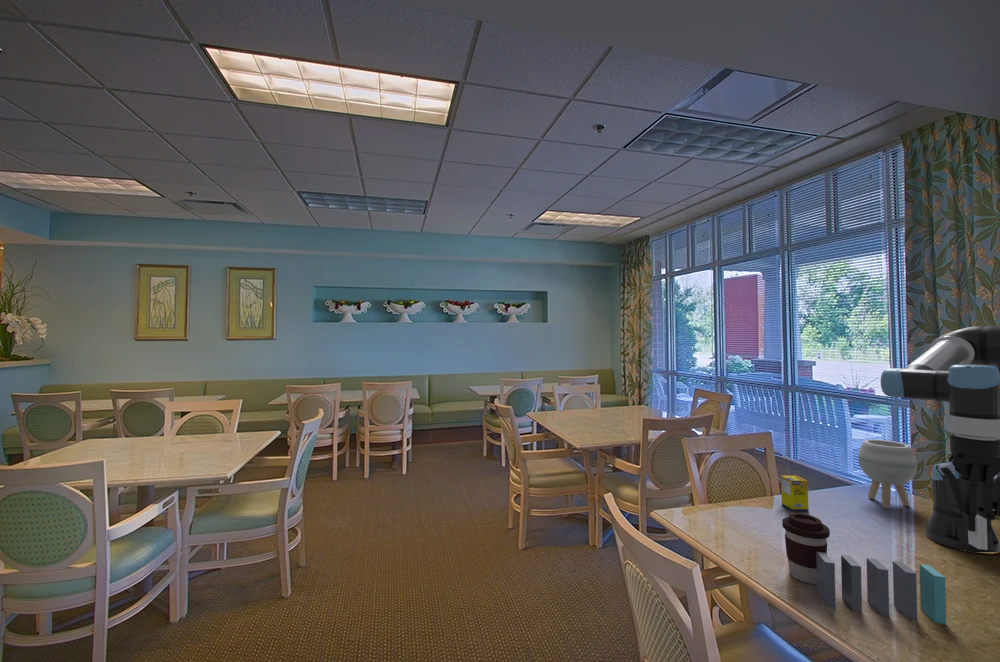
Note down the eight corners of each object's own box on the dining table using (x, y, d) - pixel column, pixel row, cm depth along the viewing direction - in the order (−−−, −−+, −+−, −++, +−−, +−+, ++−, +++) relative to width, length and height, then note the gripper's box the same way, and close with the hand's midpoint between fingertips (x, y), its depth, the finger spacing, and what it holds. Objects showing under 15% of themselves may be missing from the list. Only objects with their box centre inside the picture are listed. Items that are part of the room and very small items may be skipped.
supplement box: (809, 511, 152) (808, 480, 152) (792, 511, 152) (791, 480, 152) (797, 505, 157) (797, 475, 158) (781, 505, 158) (780, 475, 158)
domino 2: (851, 598, 101) (850, 555, 101) (862, 611, 96) (861, 566, 96) (841, 597, 101) (841, 554, 101) (852, 610, 96) (851, 565, 97)
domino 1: (825, 595, 102) (825, 552, 102) (835, 607, 97) (834, 563, 98) (817, 593, 103) (816, 551, 103) (826, 606, 98) (825, 562, 98)
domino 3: (876, 602, 99) (875, 558, 99) (889, 615, 94) (888, 569, 95) (867, 601, 100) (866, 557, 100) (879, 614, 95) (878, 568, 95)
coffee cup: (833, 592, 103) (831, 530, 103) (783, 580, 108) (782, 520, 109) (828, 573, 111) (827, 515, 112) (782, 563, 117) (781, 507, 117)
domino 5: (930, 610, 96) (929, 565, 96) (946, 624, 91) (945, 577, 92) (920, 608, 97) (919, 564, 97) (935, 622, 92) (934, 575, 92)
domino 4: (903, 606, 98) (902, 562, 98) (917, 620, 93) (916, 573, 93) (893, 604, 98) (892, 560, 98) (907, 618, 93) (906, 572, 94)
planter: (885, 513, 150) (884, 449, 150) (848, 496, 166) (846, 438, 166) (931, 512, 150) (929, 448, 150) (889, 496, 166) (887, 438, 167)
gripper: (999, 434, 94) (1002, 542, 94) (925, 431, 98) (928, 534, 98) (1030, 442, 87) (1033, 559, 87) (948, 438, 91) (951, 550, 90)
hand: (977, 546), depth 92 cm, fingers closed
